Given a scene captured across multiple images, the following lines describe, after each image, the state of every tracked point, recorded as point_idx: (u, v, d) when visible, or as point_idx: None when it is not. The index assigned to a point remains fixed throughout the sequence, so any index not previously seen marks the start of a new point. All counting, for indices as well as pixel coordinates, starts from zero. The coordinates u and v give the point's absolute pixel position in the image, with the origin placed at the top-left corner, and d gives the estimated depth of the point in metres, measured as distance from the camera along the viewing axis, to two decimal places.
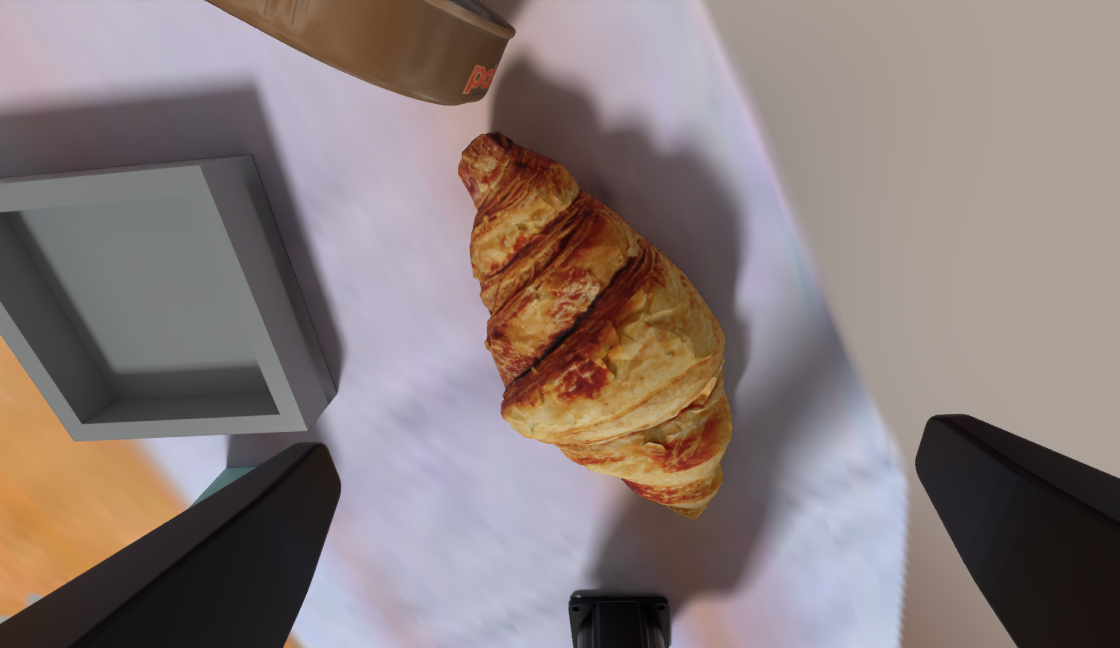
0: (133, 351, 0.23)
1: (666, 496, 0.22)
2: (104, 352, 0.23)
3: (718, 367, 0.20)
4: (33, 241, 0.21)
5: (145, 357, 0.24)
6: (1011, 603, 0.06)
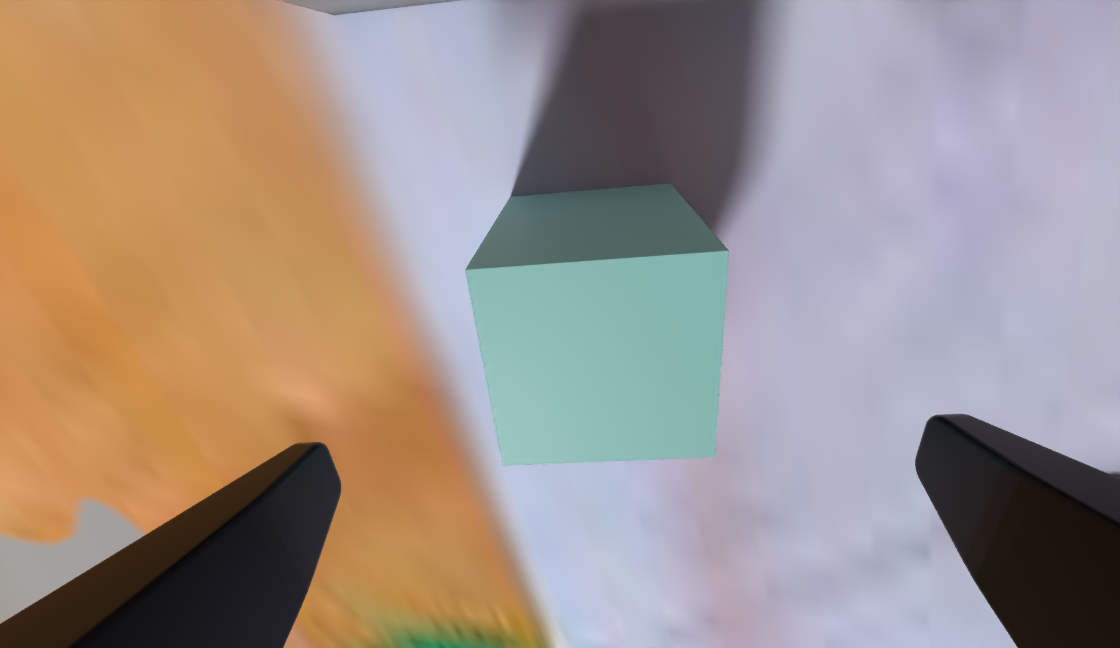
0: None
1: None
2: None
3: None
4: None
5: None
6: (1011, 603, 0.06)
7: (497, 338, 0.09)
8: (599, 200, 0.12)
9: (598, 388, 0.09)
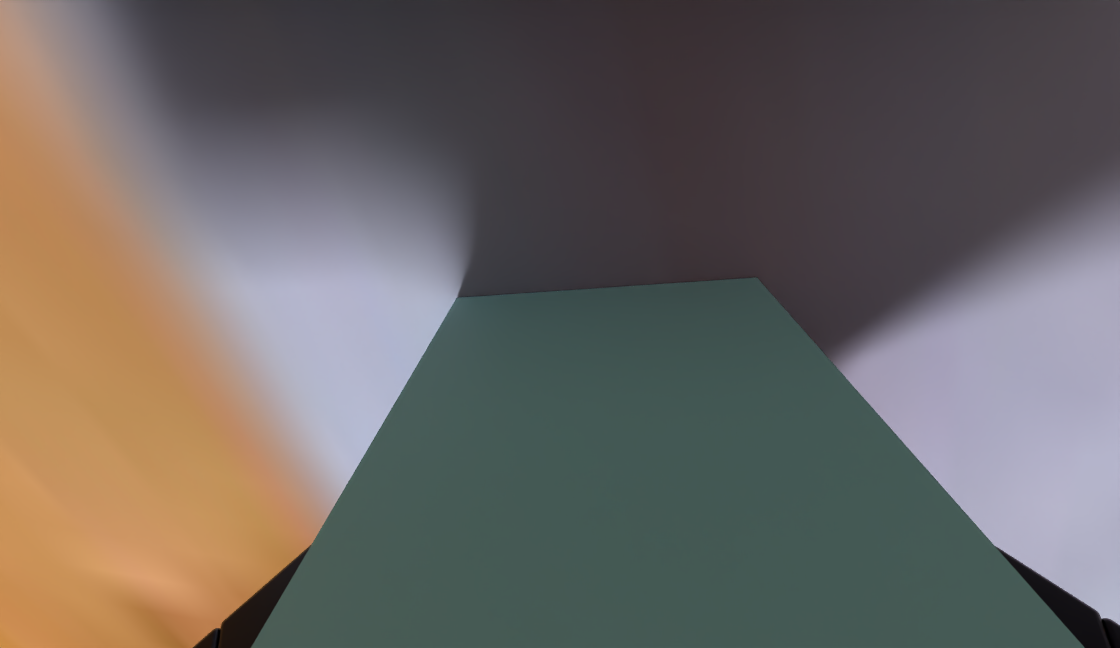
0: None
1: None
2: None
3: None
4: None
5: None
6: None
7: None
8: (626, 333, 0.06)
9: None
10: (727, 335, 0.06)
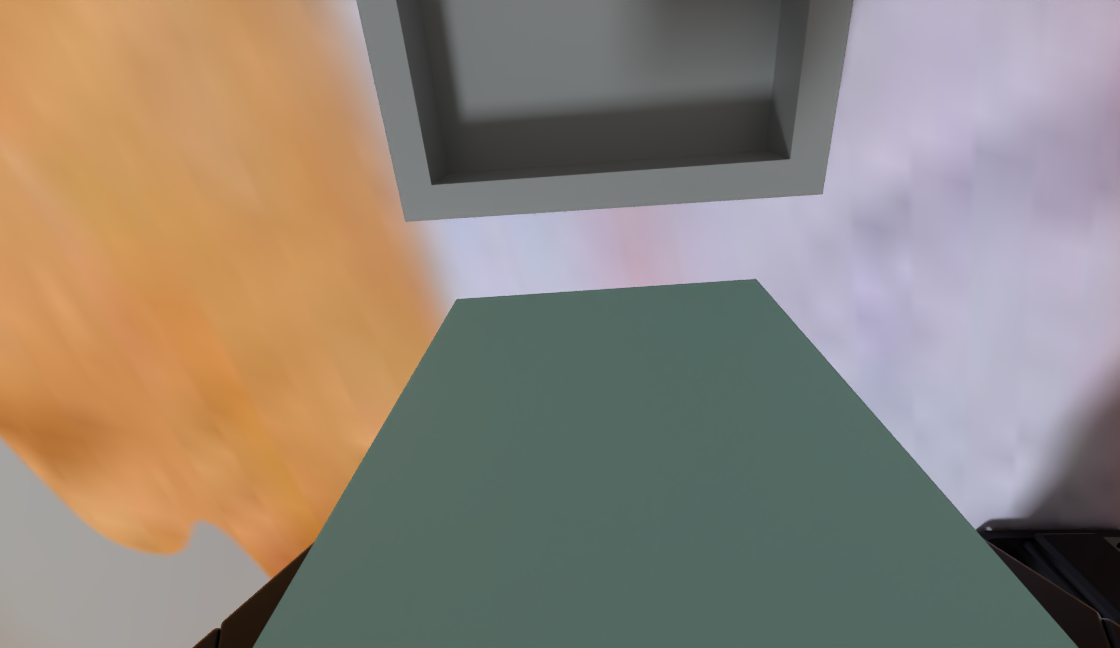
0: (508, 73, 0.14)
1: None
2: (458, 76, 0.14)
3: None
4: None
5: (524, 85, 0.14)
6: None
7: None
8: (626, 335, 0.06)
9: None
10: (726, 337, 0.06)
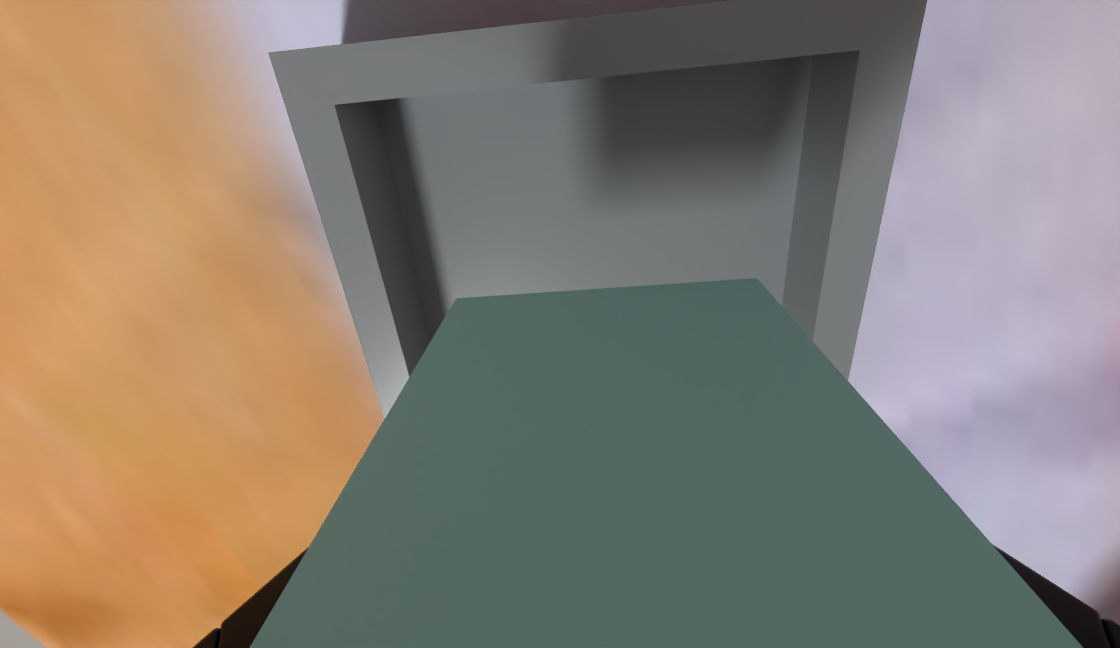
0: None
1: None
2: None
3: None
4: (410, 169, 0.12)
5: None
6: None
7: None
8: (626, 334, 0.06)
9: None
10: (727, 336, 0.06)
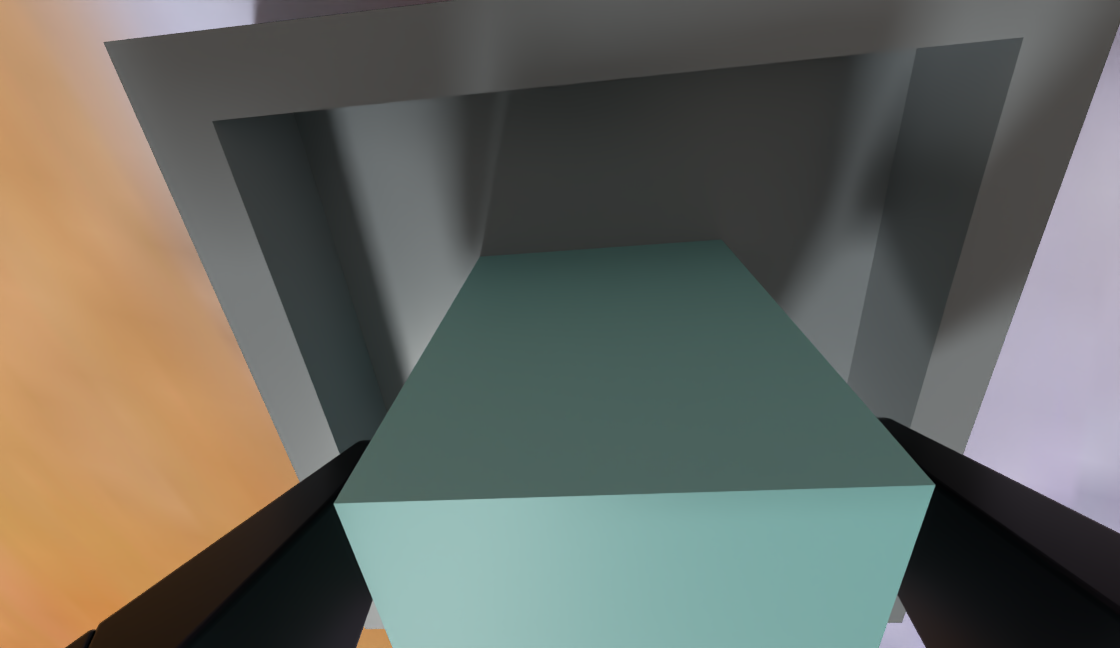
0: None
1: None
2: None
3: None
4: (350, 205, 0.09)
5: None
6: (920, 604, 0.06)
7: (416, 612, 0.04)
8: (615, 276, 0.08)
9: None
10: (692, 276, 0.07)
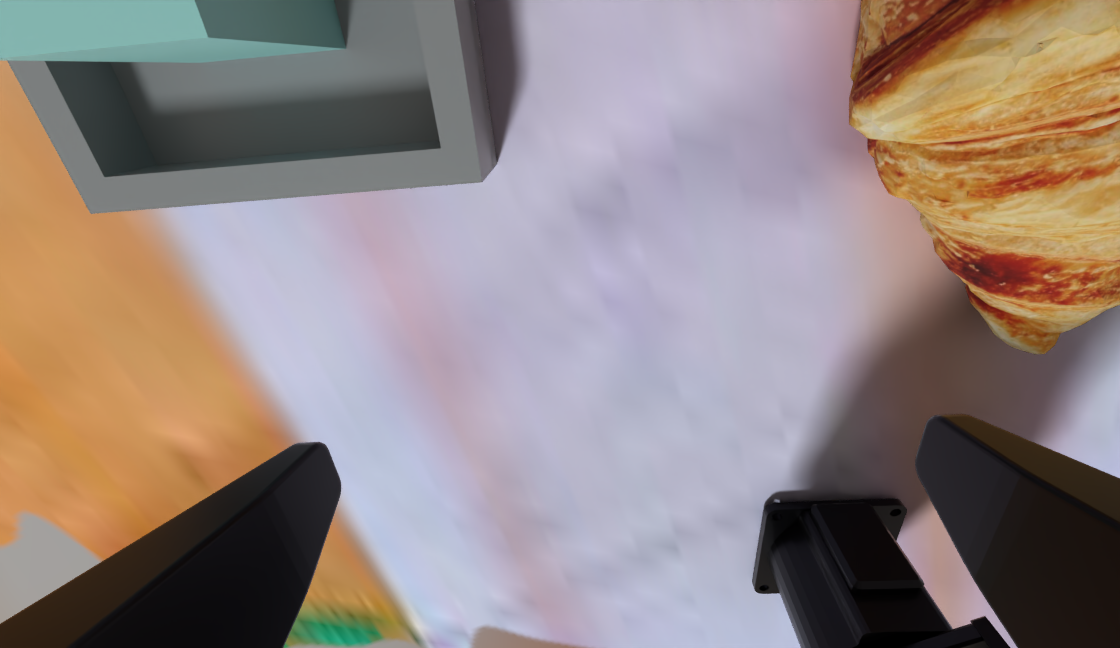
0: (185, 64, 0.14)
1: (1074, 288, 0.14)
2: (137, 67, 0.14)
3: None
4: None
5: (205, 76, 0.14)
6: (1011, 603, 0.06)
7: None
8: None
9: None
10: None
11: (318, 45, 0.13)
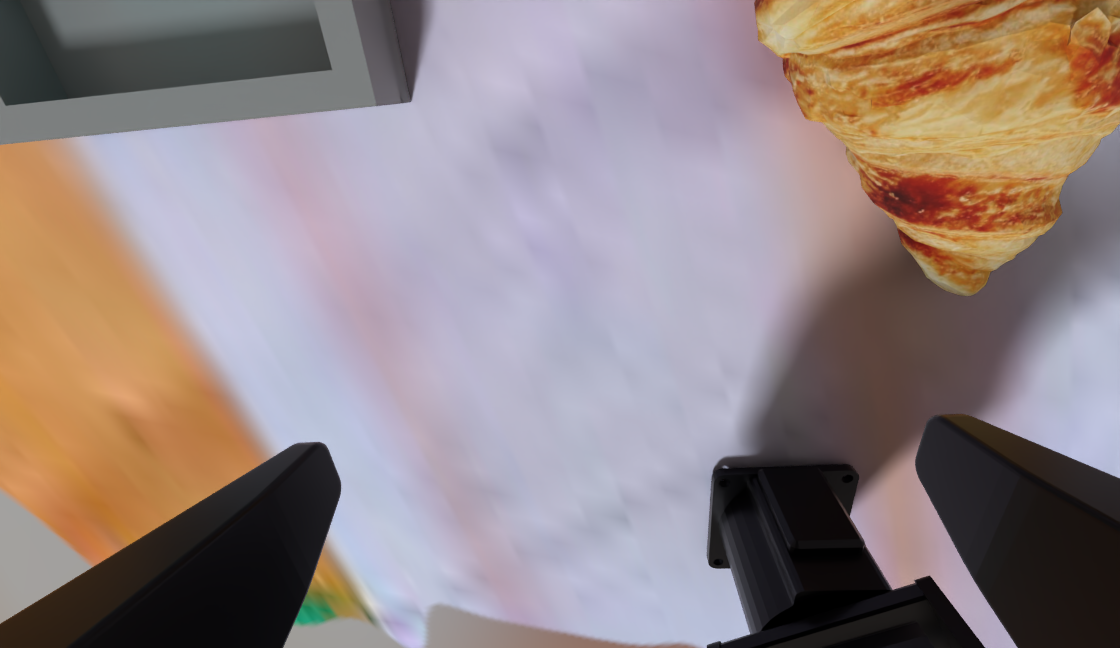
0: None
1: (991, 211, 0.13)
2: (44, 0, 0.15)
3: None
4: None
5: (111, 9, 0.15)
6: (1011, 603, 0.06)
7: None
8: None
9: None
10: None
11: None
